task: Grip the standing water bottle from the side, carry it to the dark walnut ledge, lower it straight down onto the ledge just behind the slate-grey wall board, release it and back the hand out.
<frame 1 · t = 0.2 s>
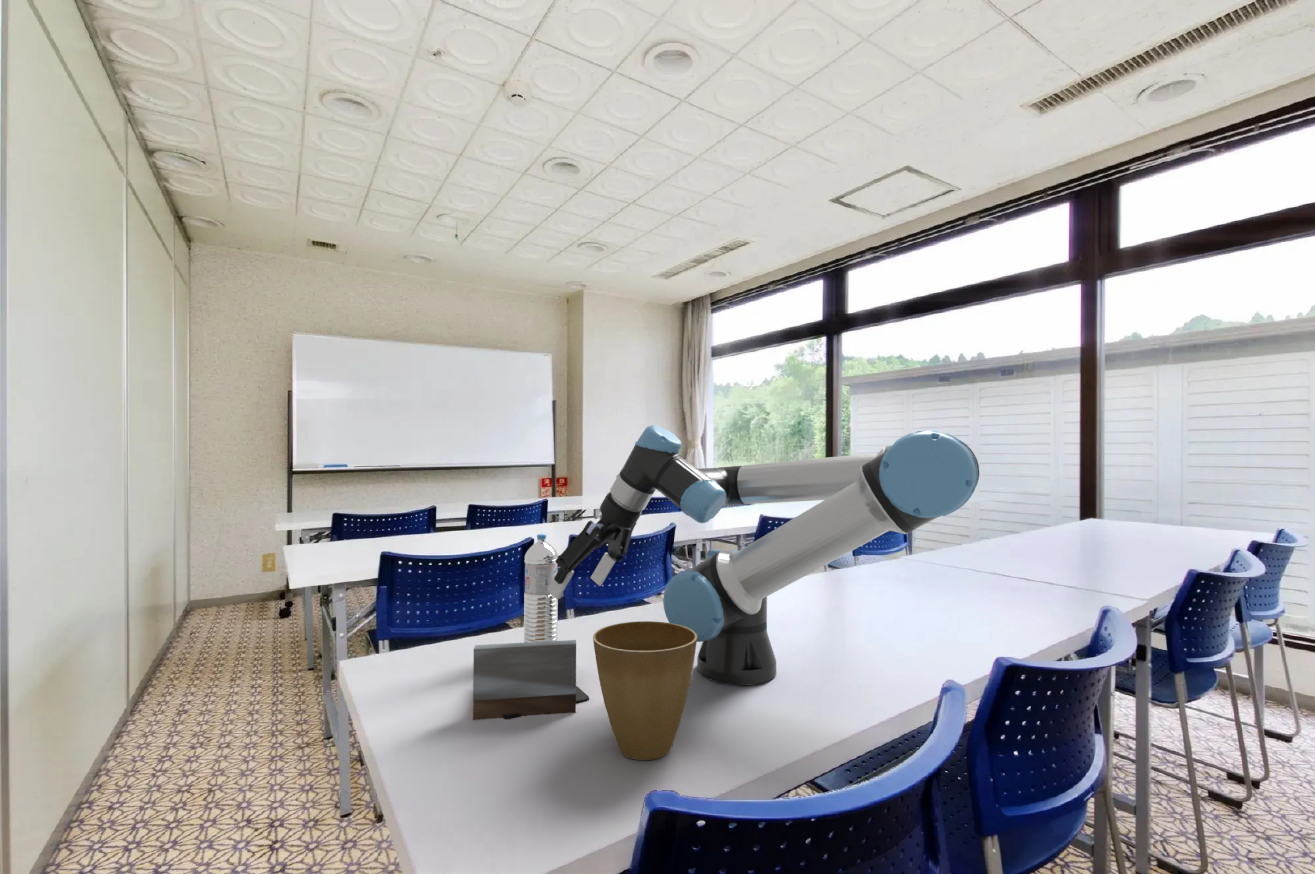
hand: (575, 587, 116), 15 cm above the table, tool tilted 35°, fingers open, 13 cm apart
plant pot: (644, 748, 83), on the table
smartphone: (542, 705, 98), on the table
water bottle: (540, 657, 121), on the table
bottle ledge: (527, 698, 100), on the table
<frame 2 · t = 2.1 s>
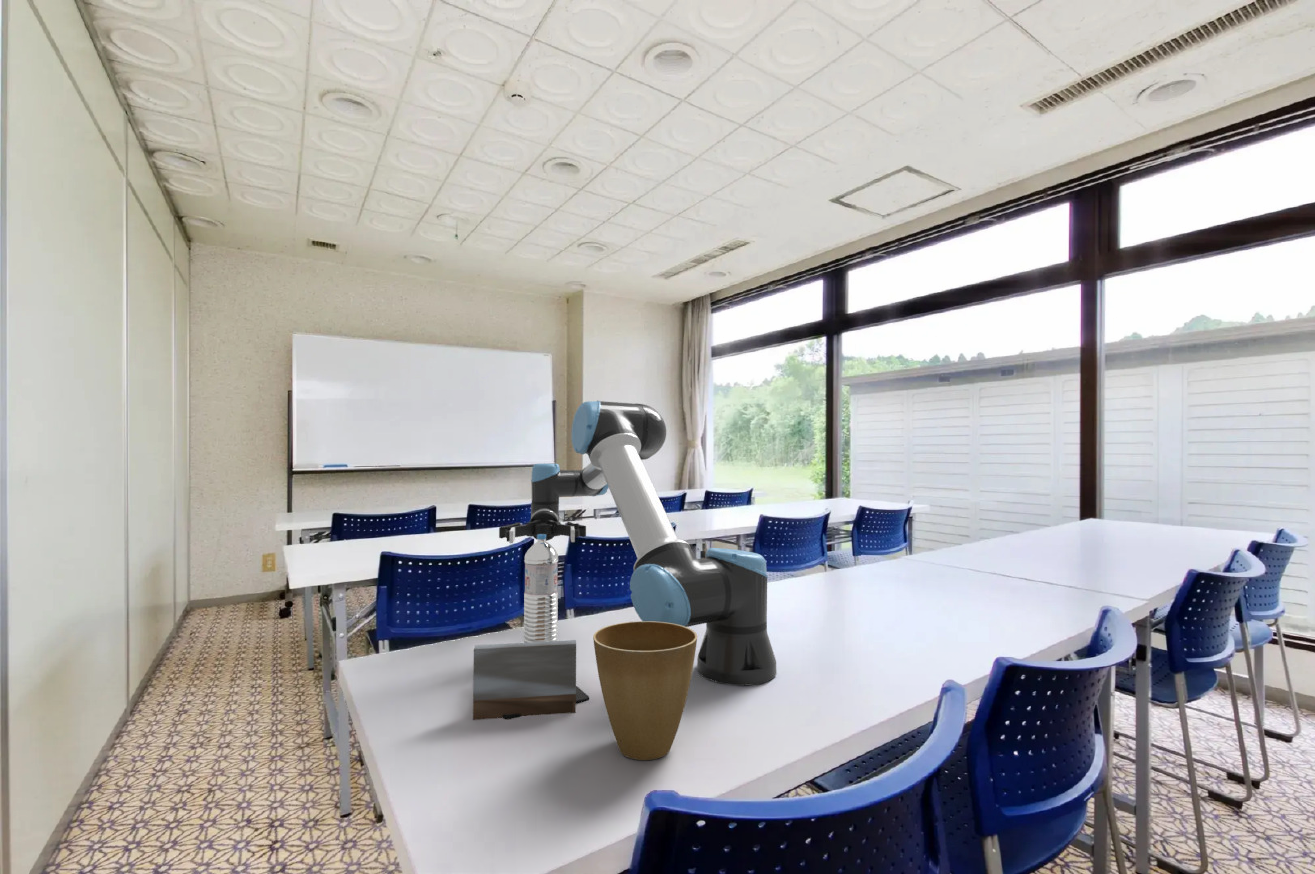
hand: (542, 536, 131), 23 cm above the table, tool horizontal, fingers open, 13 cm apart
nothing on the table moved.
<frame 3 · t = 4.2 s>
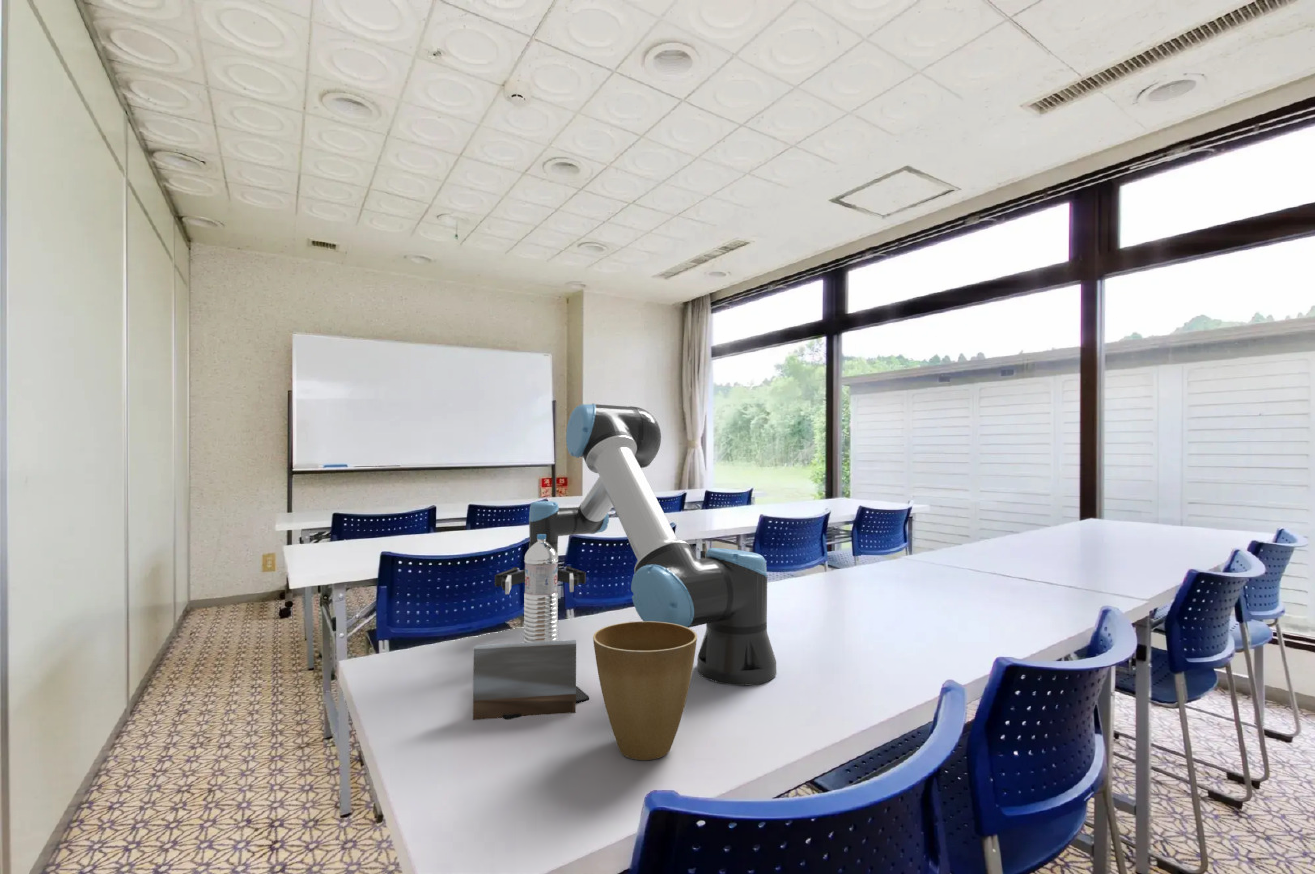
hand: (539, 586, 125), 13 cm above the table, tool horizontal, fingers open, 13 cm apart
nothing on the table moved.
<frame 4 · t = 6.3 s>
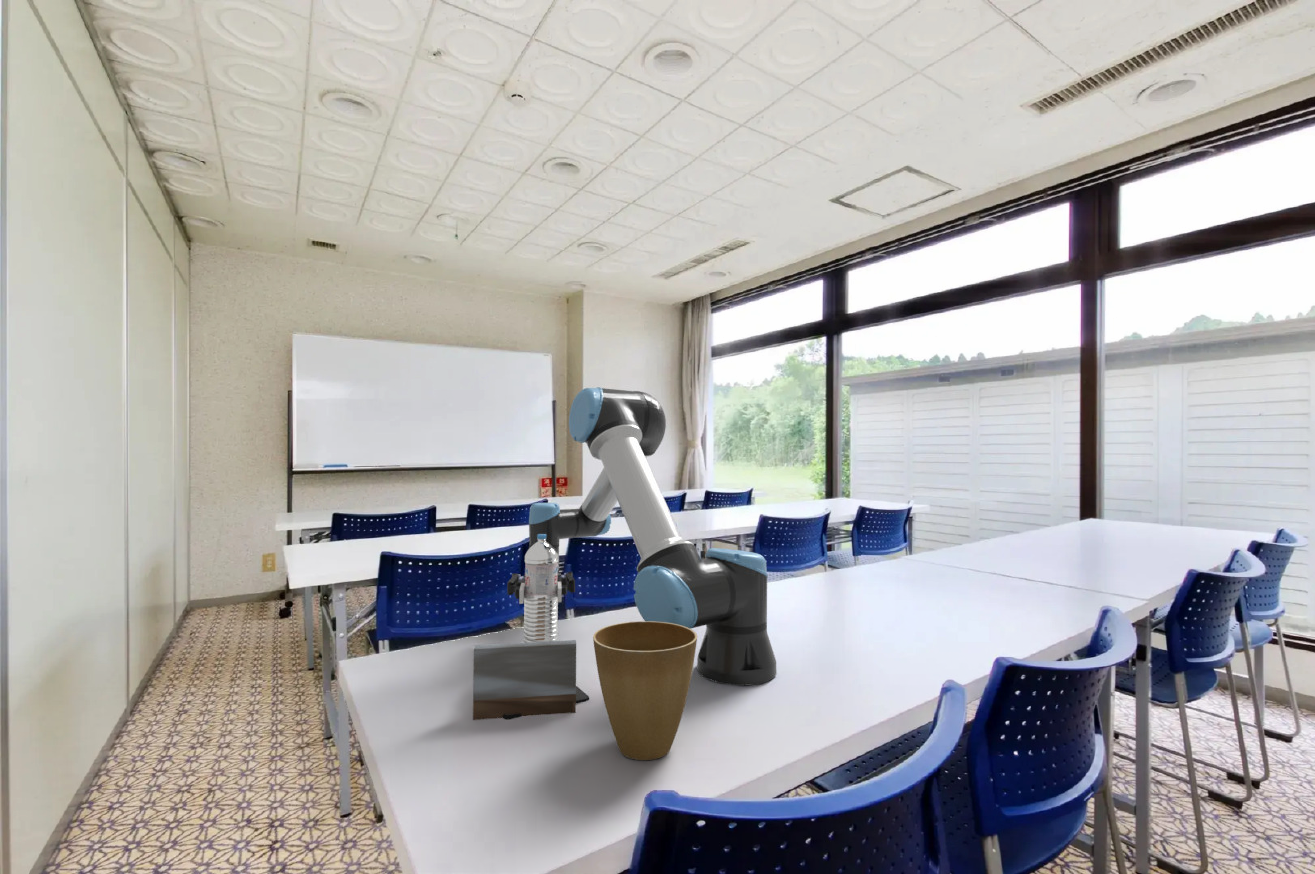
hand: (540, 596, 116), 14 cm above the table, tool horizontal, fingers closed on water bottle, 7 cm apart
water bottle: (540, 657, 121), on the table, touching gripper
everything else where it was.
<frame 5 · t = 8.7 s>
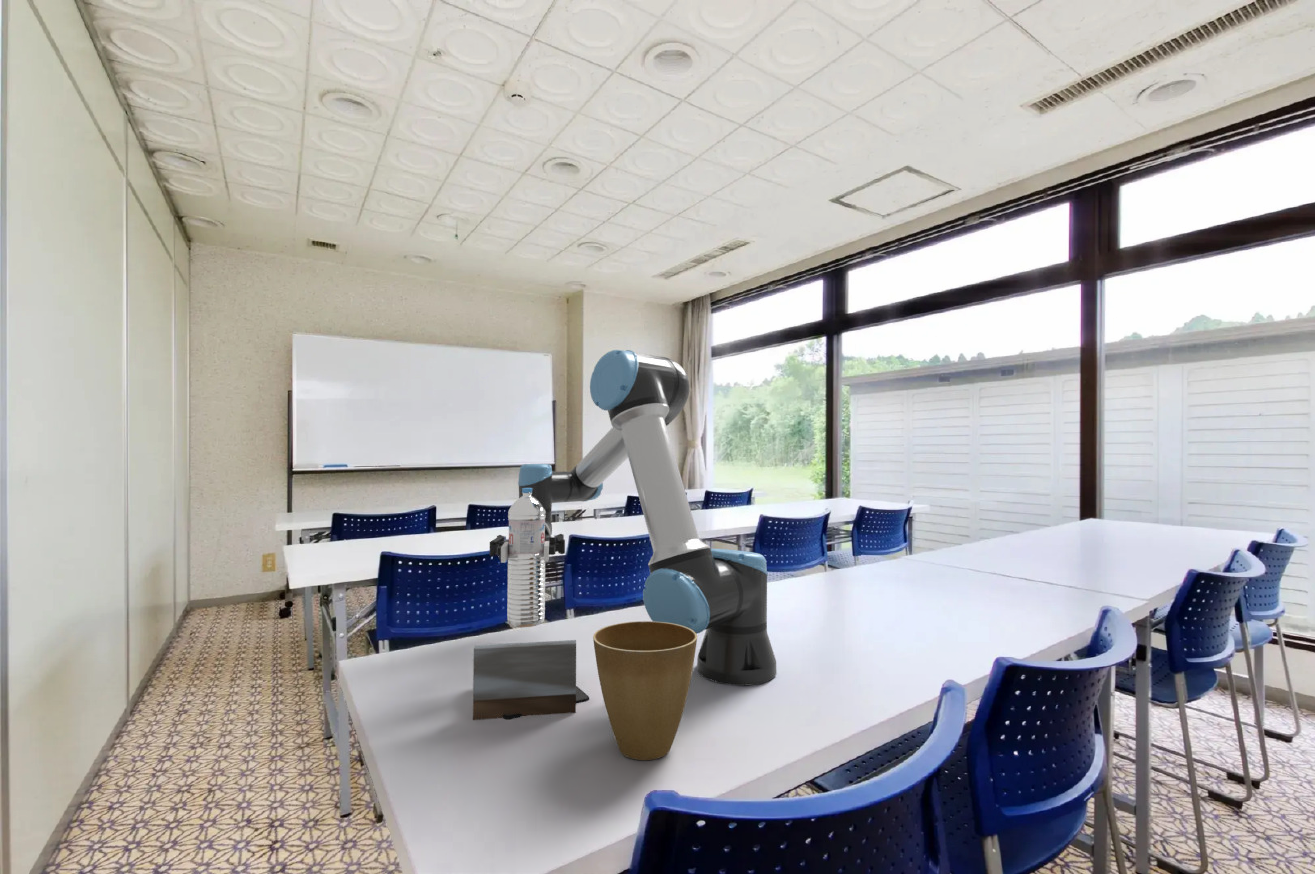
hand: (524, 554, 104), 24 cm above the table, tool horizontal, fingers closed on water bottle, 7 cm apart
water bottle: (526, 624, 108), point 10 cm above the table, touching gripper
everything else where it was.
when the fingers open (18 cm above the table, at t = 11.0 s): water bottle drops 1 cm, resting on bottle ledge.
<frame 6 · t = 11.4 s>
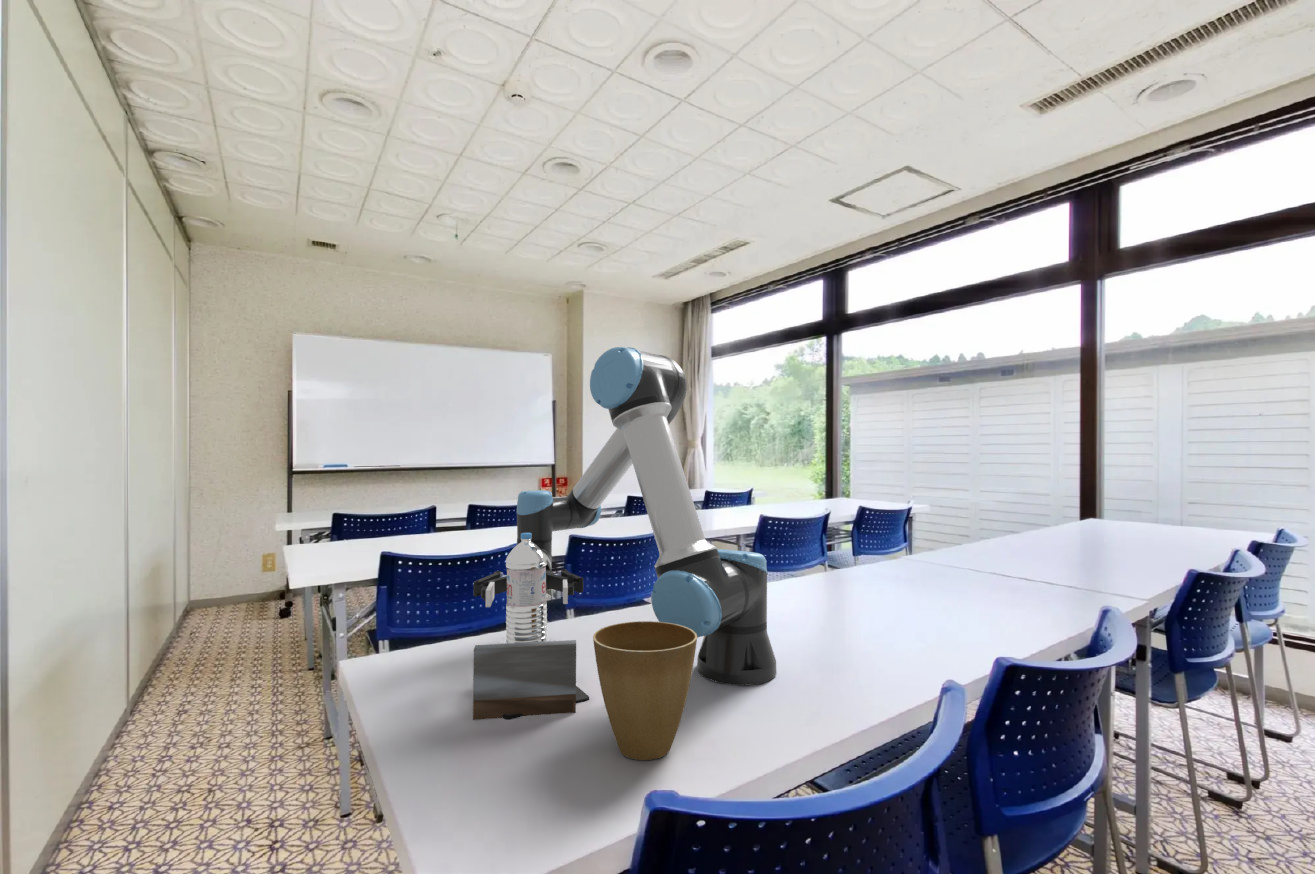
hand: (527, 597, 97), 18 cm above the table, tool horizontal, fingers open, 12 cm apart
water bottle: (527, 681, 100), point 3 cm above the table, touching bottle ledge
everything else where it was.
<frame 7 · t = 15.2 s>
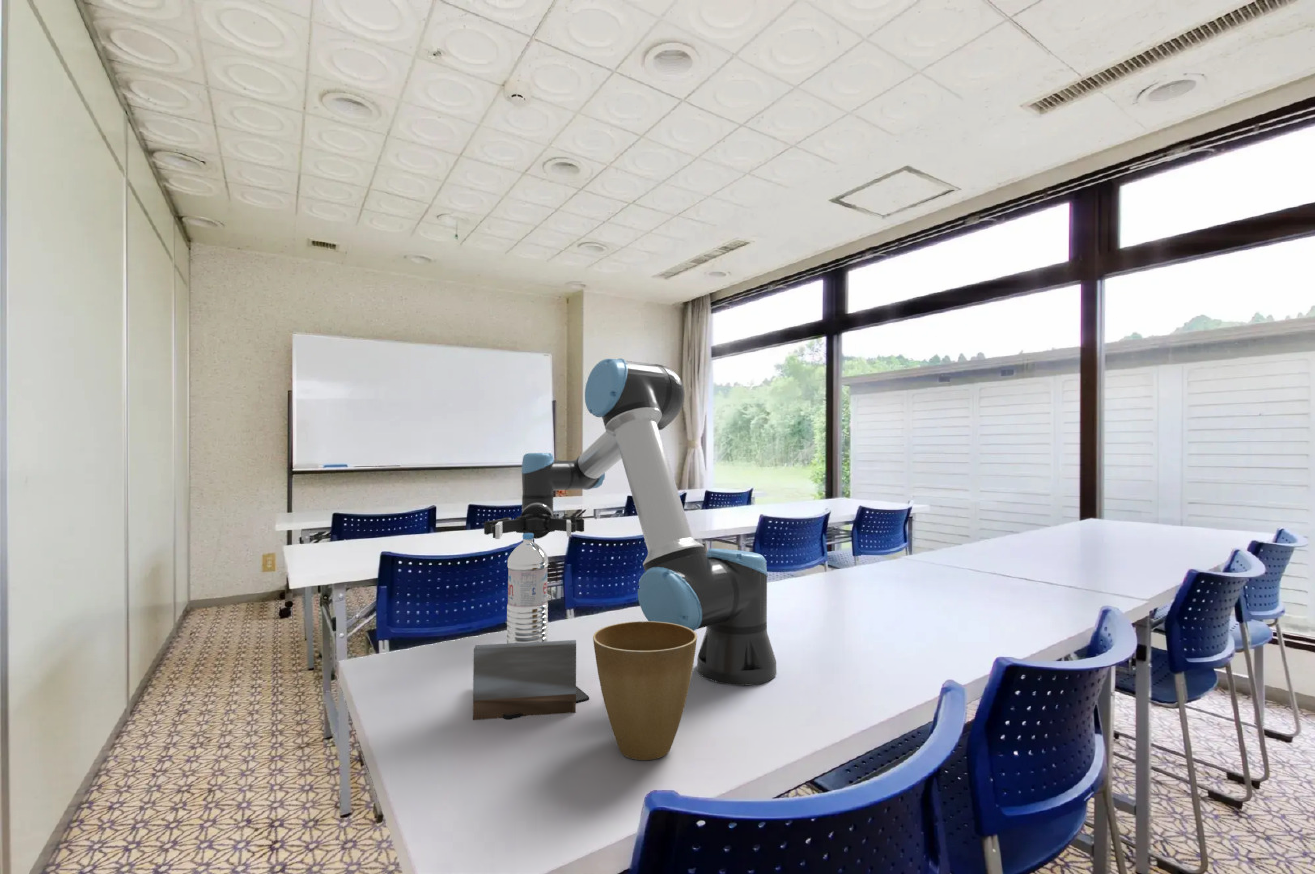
hand: (533, 530, 113), 27 cm above the table, tool horizontal, fingers open, 13 cm apart
nothing on the table moved.
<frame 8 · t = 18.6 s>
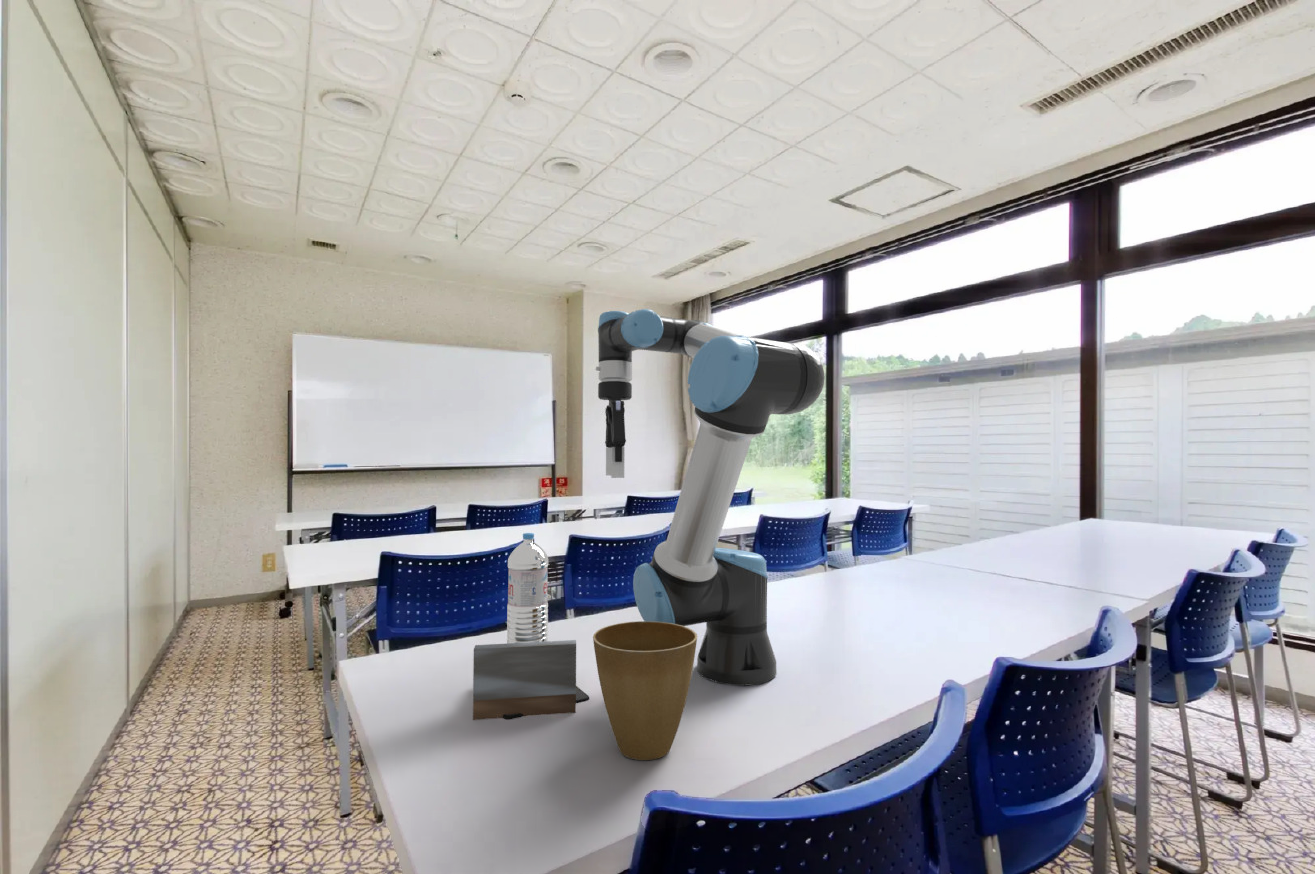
hand: (614, 476, 131), 37 cm above the table, tool pointing down, fingers open, 13 cm apart
nothing on the table moved.
at the end: water bottle inside the target area on the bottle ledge (0.1 cm from its centre), point 2.8 cm above the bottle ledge's base; water bottle tilted 0°; the gripper is holding nothing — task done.
